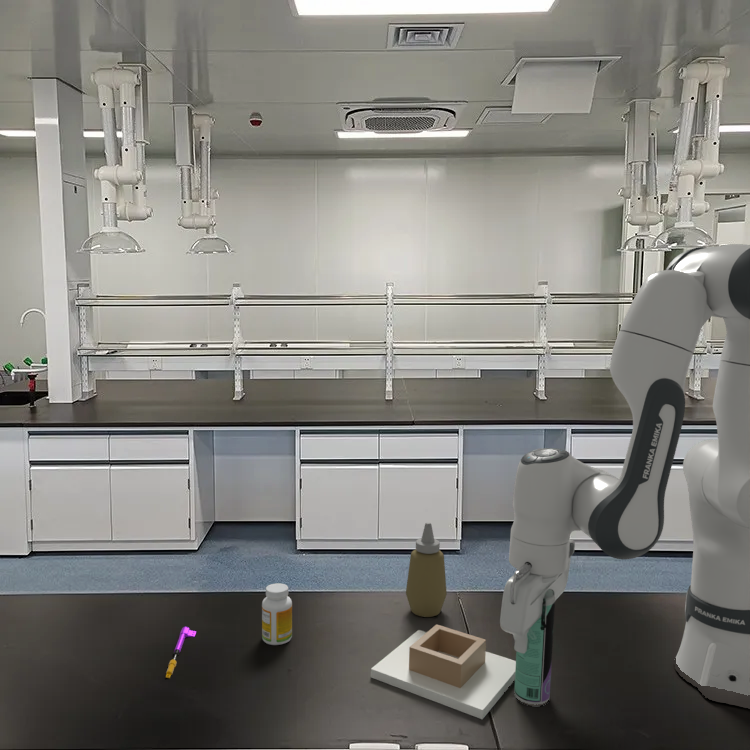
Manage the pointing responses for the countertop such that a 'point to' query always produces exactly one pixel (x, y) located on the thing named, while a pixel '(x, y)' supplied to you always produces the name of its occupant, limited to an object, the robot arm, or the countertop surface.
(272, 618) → the supplement bottle
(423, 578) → the squeeze bottle
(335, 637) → the countertop surface
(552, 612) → the spray can
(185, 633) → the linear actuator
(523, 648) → the robot arm
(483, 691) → the socket board
